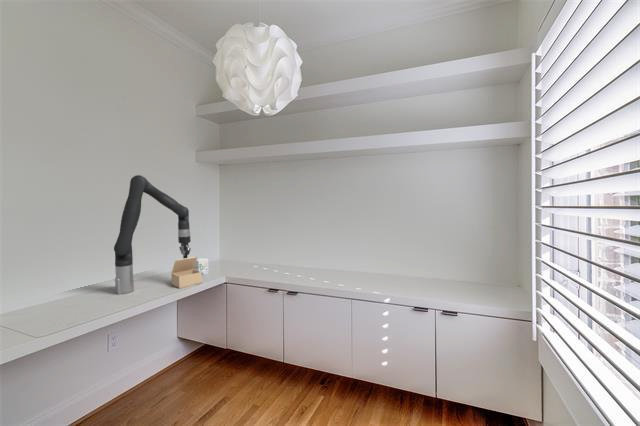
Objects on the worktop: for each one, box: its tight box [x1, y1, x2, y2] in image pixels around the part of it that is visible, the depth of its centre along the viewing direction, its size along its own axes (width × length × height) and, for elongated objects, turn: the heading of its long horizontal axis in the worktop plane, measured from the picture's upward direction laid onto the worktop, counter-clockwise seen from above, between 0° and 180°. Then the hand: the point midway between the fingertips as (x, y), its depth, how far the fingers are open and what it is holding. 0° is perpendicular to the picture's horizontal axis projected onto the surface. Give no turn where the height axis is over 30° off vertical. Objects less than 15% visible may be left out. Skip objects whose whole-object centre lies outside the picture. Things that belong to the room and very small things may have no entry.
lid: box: [171, 256, 199, 273], centre depth 202 cm, size 15×13×1 cm
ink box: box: [193, 257, 209, 276], centre depth 229 cm, size 8×8×12 cm
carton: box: [171, 269, 203, 290], centre depth 201 cm, size 15×13×8 cm
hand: (185, 260), depth 201 cm, fingers closed
